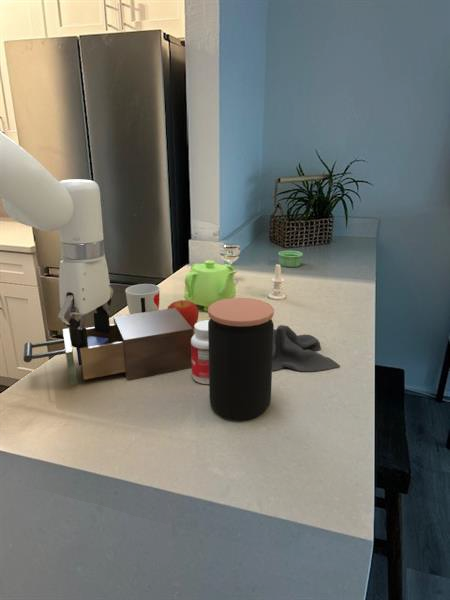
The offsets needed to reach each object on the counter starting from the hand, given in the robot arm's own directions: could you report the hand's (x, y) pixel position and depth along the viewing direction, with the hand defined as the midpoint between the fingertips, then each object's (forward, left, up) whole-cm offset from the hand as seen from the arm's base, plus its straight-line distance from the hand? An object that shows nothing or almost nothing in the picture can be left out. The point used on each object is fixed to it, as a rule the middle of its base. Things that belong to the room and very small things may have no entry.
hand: (91, 338), depth 84 cm
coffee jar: (+22, -22, -7) cm, 32 cm away
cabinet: (+12, 0, -7) cm, 14 cm away
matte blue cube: (0, 0, -5) cm, 5 cm away
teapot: (+35, +26, -7) cm, 44 cm away
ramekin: (+77, +55, -7) cm, 95 cm away
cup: (+14, +18, -7) cm, 24 cm away
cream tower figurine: (+55, +25, -7) cm, 61 cm away
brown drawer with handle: (-2, 0, -6) cm, 7 cm away
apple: (+22, +12, -7) cm, 26 cm away
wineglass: (+48, +44, -7) cm, 66 cm away
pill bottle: (+20, -11, -7) cm, 24 cm away
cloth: (+40, -8, -7) cm, 41 cm away
